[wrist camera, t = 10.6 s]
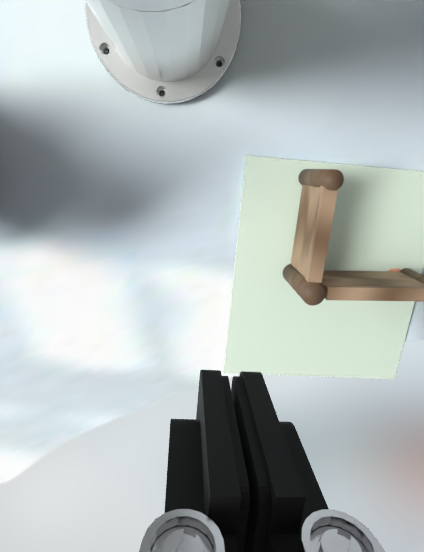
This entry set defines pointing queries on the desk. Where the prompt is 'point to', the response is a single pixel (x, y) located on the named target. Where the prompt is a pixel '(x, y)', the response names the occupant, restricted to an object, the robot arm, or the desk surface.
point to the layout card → (340, 257)
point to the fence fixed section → (313, 232)
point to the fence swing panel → (373, 285)
